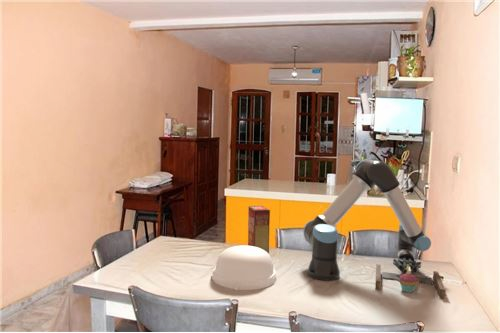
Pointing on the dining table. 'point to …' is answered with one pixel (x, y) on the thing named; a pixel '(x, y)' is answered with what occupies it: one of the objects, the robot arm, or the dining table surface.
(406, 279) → the cupcake
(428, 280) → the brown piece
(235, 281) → the dome cover
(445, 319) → the dining table surface
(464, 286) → the dining table surface
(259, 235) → the food packaging
